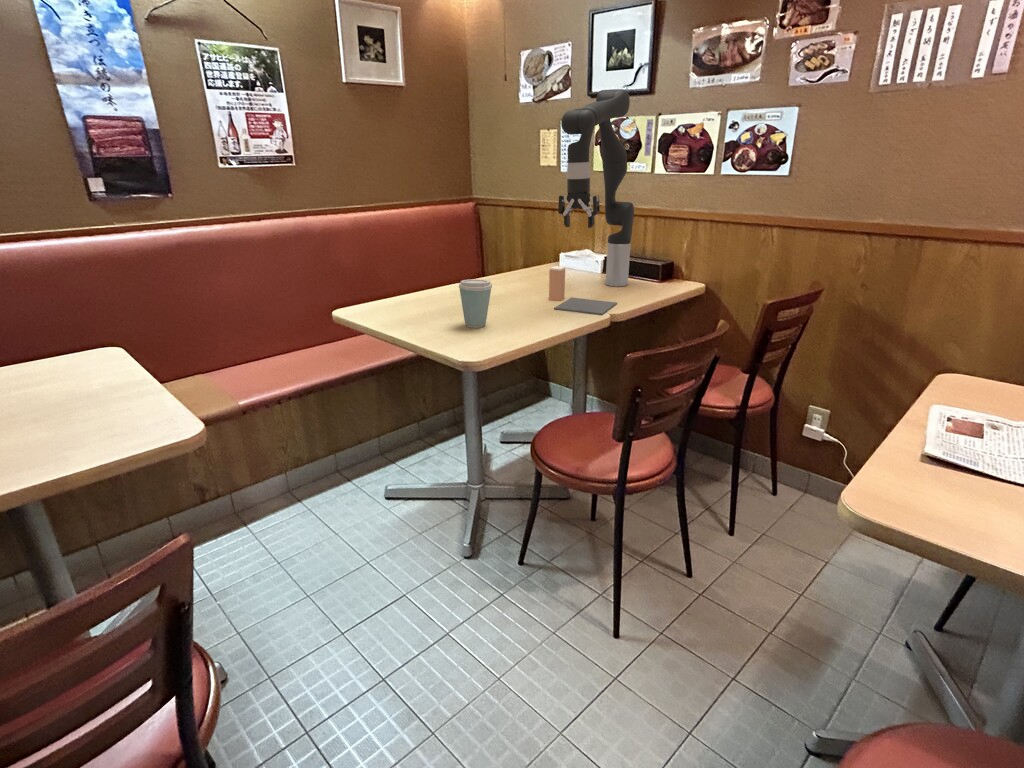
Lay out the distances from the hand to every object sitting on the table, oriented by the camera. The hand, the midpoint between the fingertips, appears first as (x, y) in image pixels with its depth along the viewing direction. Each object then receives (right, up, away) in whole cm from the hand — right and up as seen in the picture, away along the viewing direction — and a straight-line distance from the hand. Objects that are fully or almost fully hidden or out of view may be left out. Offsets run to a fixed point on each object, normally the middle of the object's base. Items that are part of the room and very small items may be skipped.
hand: (578, 227), depth 199 cm
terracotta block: (-6, -21, +24) cm, 33 cm away
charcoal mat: (+4, -25, +14) cm, 29 cm away
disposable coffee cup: (-34, -34, -8) cm, 49 cm away
